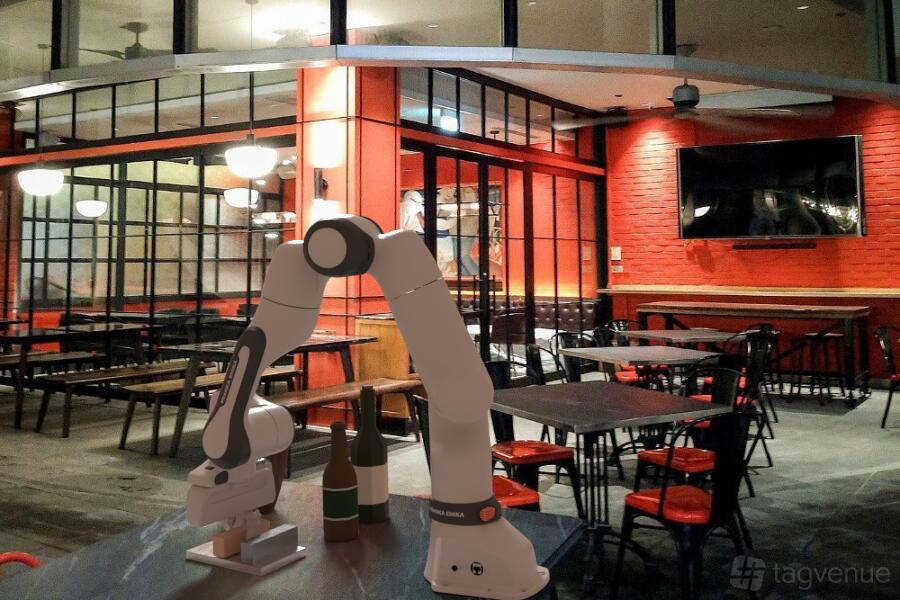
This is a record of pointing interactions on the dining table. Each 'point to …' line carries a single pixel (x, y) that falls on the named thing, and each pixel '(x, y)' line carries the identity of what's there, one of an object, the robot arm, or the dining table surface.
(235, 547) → the block
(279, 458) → the plant pot
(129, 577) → the dining table surface
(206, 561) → the vise base
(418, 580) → the dining table surface
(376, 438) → the wine bottle
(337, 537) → the beer bottle
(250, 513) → the rook chess piece
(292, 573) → the dining table surface
